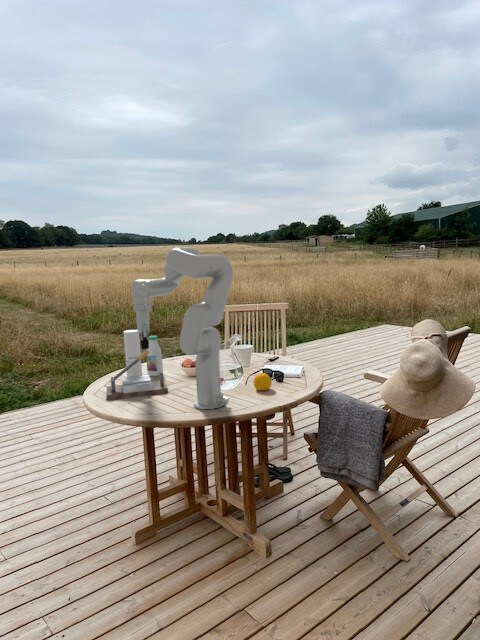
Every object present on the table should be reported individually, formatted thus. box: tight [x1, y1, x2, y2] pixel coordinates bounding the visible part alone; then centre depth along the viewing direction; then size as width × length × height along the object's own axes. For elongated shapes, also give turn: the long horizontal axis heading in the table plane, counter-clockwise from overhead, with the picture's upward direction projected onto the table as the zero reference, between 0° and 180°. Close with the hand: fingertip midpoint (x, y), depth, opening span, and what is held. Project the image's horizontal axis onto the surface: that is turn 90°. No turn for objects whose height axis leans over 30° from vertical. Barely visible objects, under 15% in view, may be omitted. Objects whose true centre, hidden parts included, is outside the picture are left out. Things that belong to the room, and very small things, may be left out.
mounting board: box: [106, 380, 169, 401], centre depth 203 cm, size 26×14×2 cm, turn 106°
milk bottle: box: [145, 335, 164, 377], centre depth 229 cm, size 8×8×20 cm
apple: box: [253, 372, 272, 391], centre depth 198 cm, size 8×8×8 cm
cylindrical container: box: [123, 329, 143, 377], centre depth 217 cm, size 7×7×25 cm
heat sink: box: [110, 370, 165, 393], centre depth 202 cm, size 23×14×6 cm, turn 106°
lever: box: [112, 349, 150, 381], centre depth 201 cm, size 20×4×1 cm
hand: (145, 348), depth 202 cm, fingers closed
